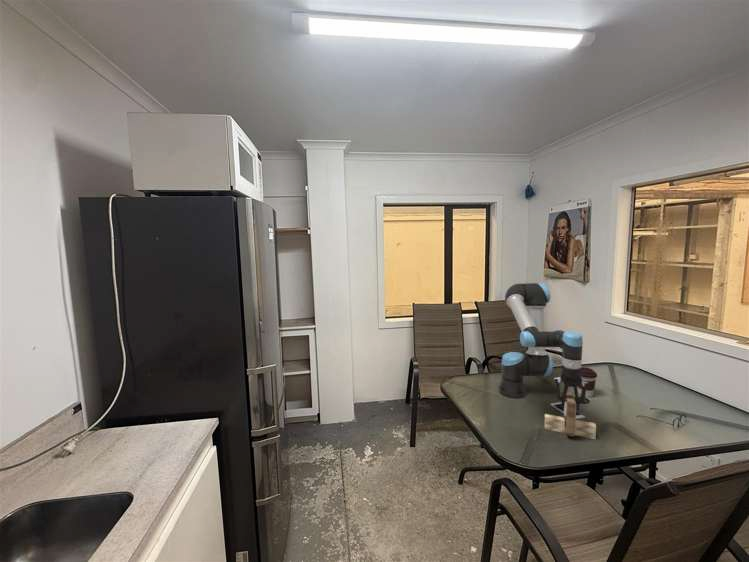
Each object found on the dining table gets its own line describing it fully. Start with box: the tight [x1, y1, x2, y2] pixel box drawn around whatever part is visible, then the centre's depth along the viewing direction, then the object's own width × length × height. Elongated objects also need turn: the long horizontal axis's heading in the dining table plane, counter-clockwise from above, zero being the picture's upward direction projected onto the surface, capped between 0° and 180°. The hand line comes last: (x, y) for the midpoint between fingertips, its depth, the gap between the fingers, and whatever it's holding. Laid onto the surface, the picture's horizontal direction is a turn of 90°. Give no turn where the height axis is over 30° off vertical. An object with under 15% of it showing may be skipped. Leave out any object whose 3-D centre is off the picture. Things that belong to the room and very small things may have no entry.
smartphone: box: [550, 401, 586, 420], centre depth 163 cm, size 7×15×1 cm, turn 11°
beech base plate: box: [544, 413, 597, 440], centre depth 145 cm, size 20×3×6 cm, turn 63°
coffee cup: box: [577, 366, 598, 398], centre depth 179 cm, size 10×10×15 cm
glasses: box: [636, 407, 687, 431], centre depth 153 cm, size 14×15×5 cm
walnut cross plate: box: [563, 391, 577, 437], centre depth 144 cm, size 12×3×15 cm, turn 153°
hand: (569, 415), depth 144 cm, fingers closed on walnut cross plate, 3 cm apart
